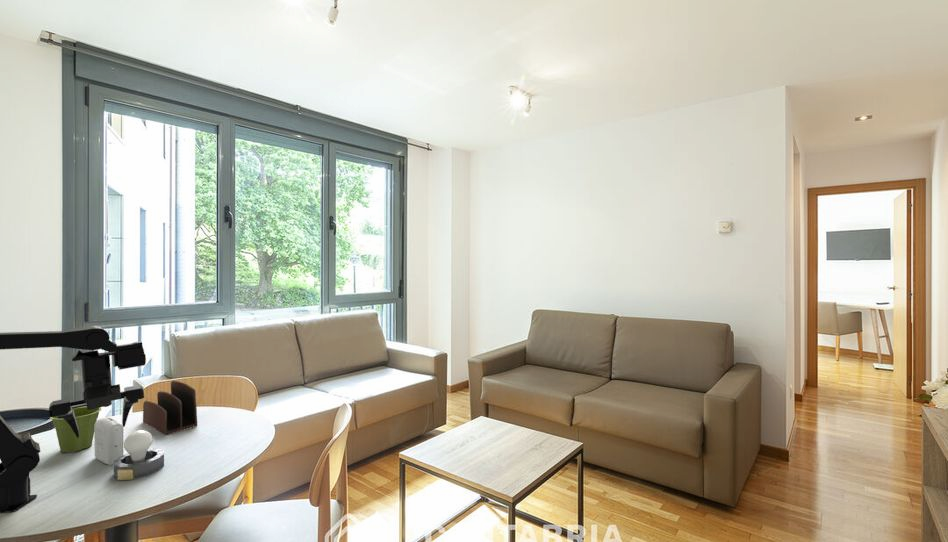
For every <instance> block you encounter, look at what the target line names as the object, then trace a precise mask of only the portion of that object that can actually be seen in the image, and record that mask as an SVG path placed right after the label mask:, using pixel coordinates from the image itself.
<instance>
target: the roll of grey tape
mask: <svg viewBox="0 0 948 542" xmlns="http://www.w3.org/2000/svg"><path fill="white" fill-rule="evenodd" d="M164 466H165V452H164V449H160V448H149V449H148V451H147V453H146V457H145V461H144V462H140V463H136V464H133V461H132V459H131V456H130V454H129V453H128V452H127V453H125V454H123V456H120V457H119V458H118V459H116V460H115V461H114V464H113V478H114V479H117V481H127V480H135V479H139V478H143V477H147V476H149V475H152V474H154V473H157V472H158V471H160V470H161V469H162V468H163V467H164Z"/></svg>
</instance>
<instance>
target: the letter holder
mask: <svg viewBox="0 0 948 542" xmlns="http://www.w3.org/2000/svg"><path fill="white" fill-rule="evenodd" d="M142 408H143V409H142V422H143V423H144V424H146V425H147V424H148V426H149V427H151V428H153V429H154V428H155V429H154V430H156V431H158V432H160V433H161V432H162V434H164V435H165V436H168V435H171V434H174V433H177V431H178V432H181V431H184V429H185V430H188V429H191V428H190V427H192V428H194V427H193V426H195V427H197V426H198V412H197V410H198V409H197V398H196V390H195V388H194V387H192V386H190V385H189V384H187V383H185V382H181V381H178V380H171V382H170V392H167V391H162V390H159V391H157V403H155V402H153V401H148V400H144V401H143V405H142ZM187 428H188V429H187ZM180 430H181V431H180ZM173 432H174V433H173ZM170 433H171V434H170Z"/></svg>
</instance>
